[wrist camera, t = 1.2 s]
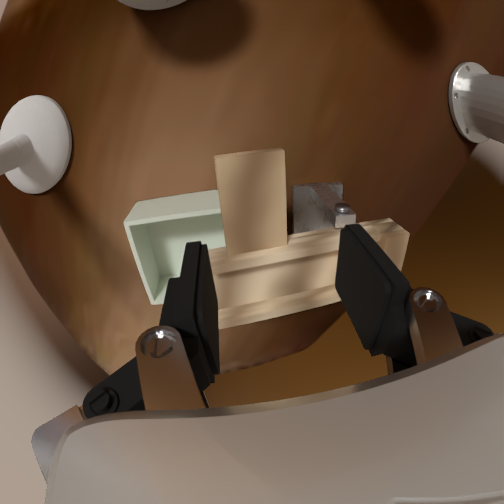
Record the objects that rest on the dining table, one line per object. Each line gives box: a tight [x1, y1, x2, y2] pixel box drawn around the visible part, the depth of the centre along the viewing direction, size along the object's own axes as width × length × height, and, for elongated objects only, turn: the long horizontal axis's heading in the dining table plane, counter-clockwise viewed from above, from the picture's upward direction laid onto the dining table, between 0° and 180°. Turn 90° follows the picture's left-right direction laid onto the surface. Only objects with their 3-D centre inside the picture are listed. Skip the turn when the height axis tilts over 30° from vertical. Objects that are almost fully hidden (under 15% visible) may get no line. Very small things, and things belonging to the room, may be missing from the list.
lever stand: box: [291, 182, 356, 303], centre depth 31 cm, size 6×11×9 cm, turn 4°
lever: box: [208, 148, 410, 329], centre depth 24 cm, size 19×15×4 cm
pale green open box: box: [123, 190, 226, 305], centre depth 31 cm, size 13×11×6 cm
